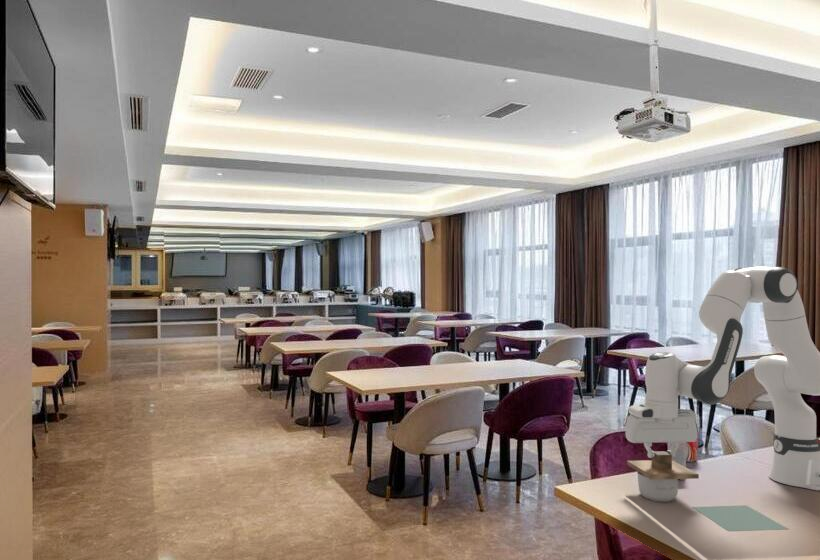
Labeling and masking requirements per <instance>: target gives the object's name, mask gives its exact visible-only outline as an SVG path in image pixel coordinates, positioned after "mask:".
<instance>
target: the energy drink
mask: <svg viewBox="0 0 820 560" xmlns="http://www.w3.org/2000/svg"><path fill="white" fill-rule="evenodd" d="M671 447H672V444H671V442H667V450H670V449H671ZM672 460H673V461H675V462H676V463H678V464H680V465H682V466H684V467H686V468H687V462H686V442H679V447H678V449H677V450H676V452H675V458H672Z"/></svg>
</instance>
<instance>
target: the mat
mask: <svg viewBox="0 0 820 560" xmlns="http://www.w3.org/2000/svg"><path fill="white" fill-rule="evenodd" d="M691 508H692V509H694V510H696V511H697V512H699V514H701V515H703V516H705V517H706V518H708V519H709V520H711V521H712V522H714V523H715V524H717V525H718V526H719V527H721V528H723V529H724V530H726V531H727V532H743V531H744V532H745V531H746V532H747V531H750V532H751V531H752V532H753V531H777V530H779V531H780V530H789V528H787V527H786V526H784V525H782V524H781V523H779V522H777V521H775V520H774V519H772V518H770V517H768V516H766V515H765V514H763V513H761V512H759V511H757V510H756V509H754V508H752V507H750V506H749V505H747V504H745V505H716V506H715V505H714V506H713V505H712V506H711V505H710V506H691Z"/></svg>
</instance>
